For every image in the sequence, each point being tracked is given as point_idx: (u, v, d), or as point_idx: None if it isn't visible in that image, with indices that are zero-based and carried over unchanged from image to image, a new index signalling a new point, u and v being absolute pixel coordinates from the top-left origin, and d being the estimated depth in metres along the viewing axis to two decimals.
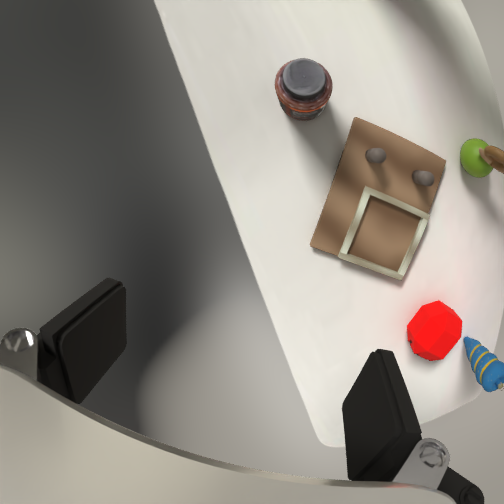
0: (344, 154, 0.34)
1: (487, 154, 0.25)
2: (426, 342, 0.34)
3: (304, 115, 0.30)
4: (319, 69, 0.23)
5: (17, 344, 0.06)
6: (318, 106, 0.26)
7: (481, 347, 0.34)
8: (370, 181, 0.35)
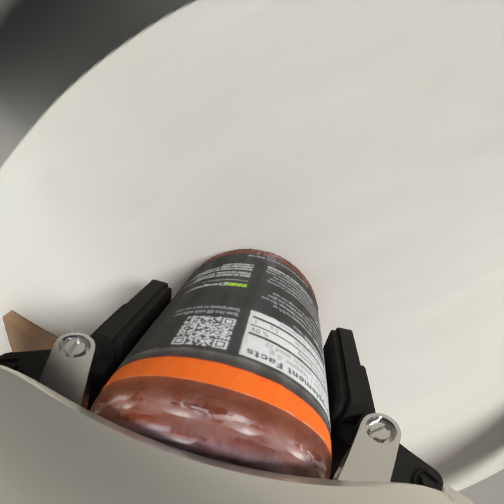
0: None
1: None
2: None
3: None
4: None
5: (71, 349, 0.06)
6: None
7: None
8: None
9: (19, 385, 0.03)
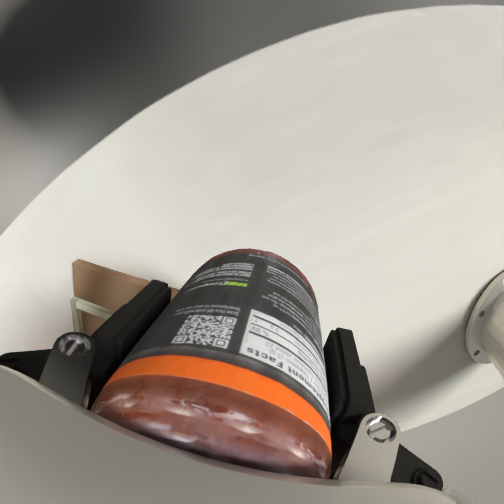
0: None
1: None
2: None
3: None
4: None
5: (71, 349, 0.06)
6: None
7: None
8: None
9: (19, 385, 0.03)
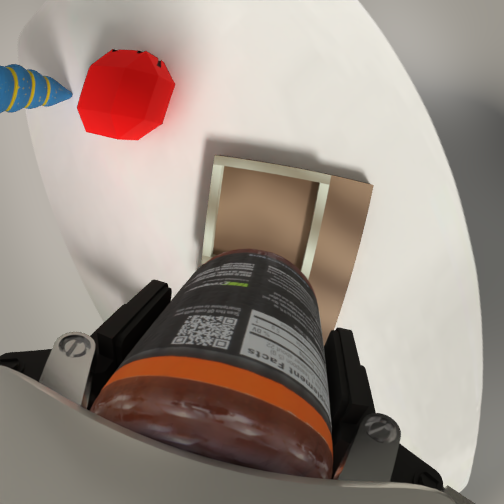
0: (337, 313, 0.28)
1: None
2: (133, 80, 0.18)
3: None
4: None
5: (71, 349, 0.06)
6: None
7: (38, 105, 0.21)
8: None
9: (19, 385, 0.03)
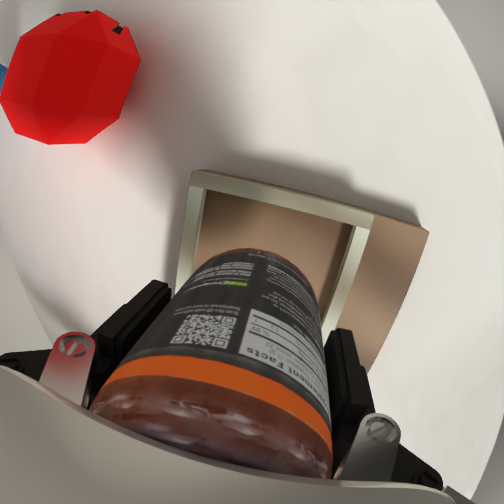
0: None
1: None
2: (67, 52, 0.09)
3: None
4: None
5: (72, 349, 0.06)
6: None
7: None
8: None
9: (19, 385, 0.03)
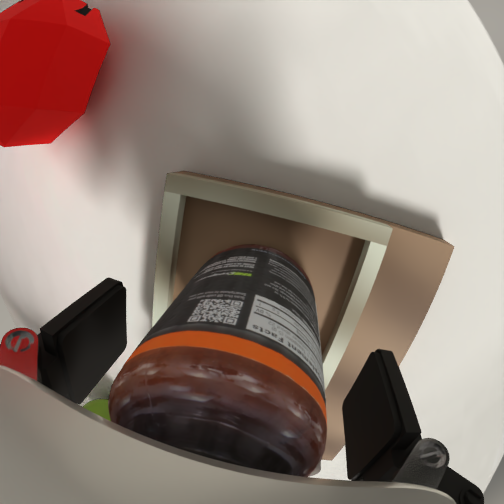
0: None
1: None
2: (20, 38, 0.06)
3: None
4: None
5: (17, 344, 0.06)
6: None
7: None
8: None
9: (19, 385, 0.03)
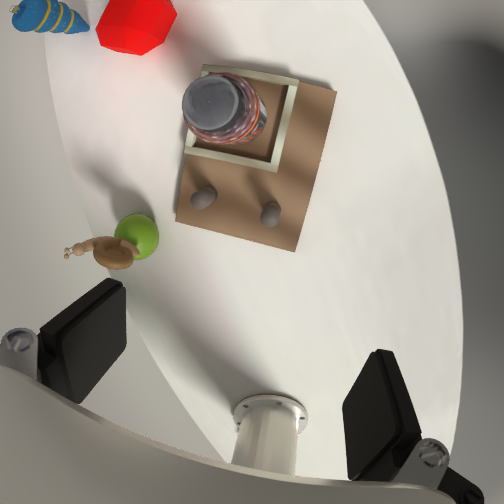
0: (306, 207, 0.30)
1: (128, 254, 0.28)
2: (144, 4, 0.19)
3: None
4: (222, 120, 0.18)
5: (17, 344, 0.06)
6: (189, 128, 0.21)
7: (61, 30, 0.22)
8: (270, 178, 0.30)
9: (19, 385, 0.03)
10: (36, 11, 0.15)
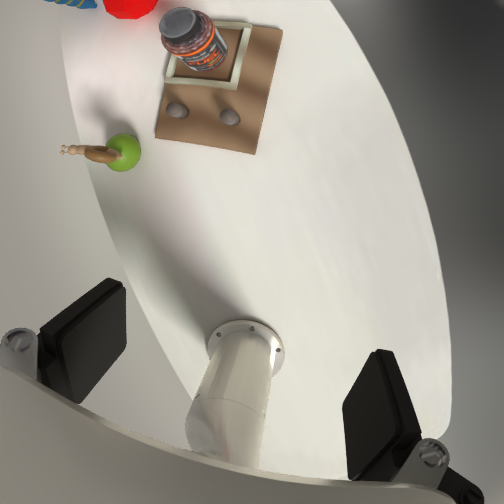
0: (261, 115, 0.34)
1: (112, 153, 0.31)
2: None
3: None
4: (184, 30, 0.22)
5: (17, 344, 0.06)
6: (165, 46, 0.25)
7: (76, 3, 0.26)
8: (231, 95, 0.34)
9: (19, 385, 0.03)
10: None
